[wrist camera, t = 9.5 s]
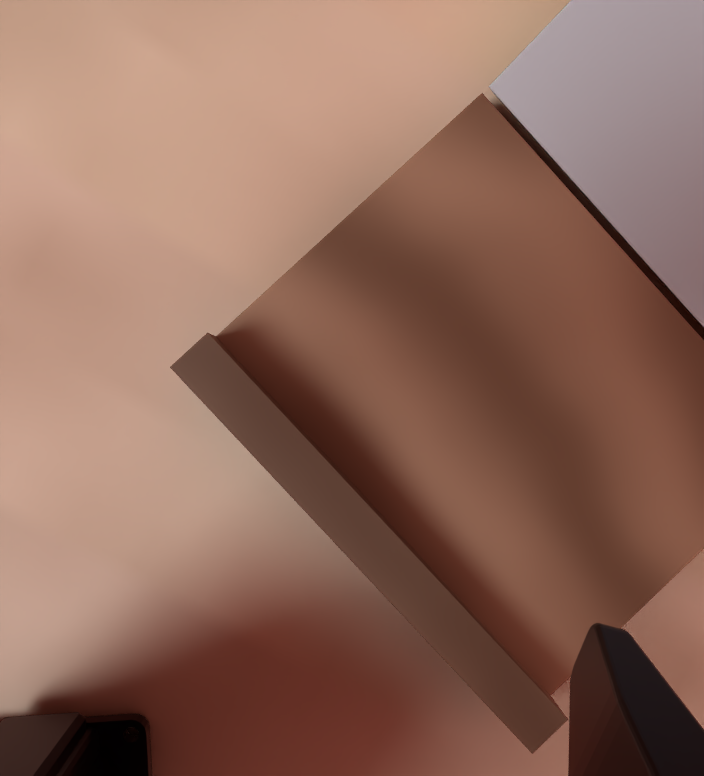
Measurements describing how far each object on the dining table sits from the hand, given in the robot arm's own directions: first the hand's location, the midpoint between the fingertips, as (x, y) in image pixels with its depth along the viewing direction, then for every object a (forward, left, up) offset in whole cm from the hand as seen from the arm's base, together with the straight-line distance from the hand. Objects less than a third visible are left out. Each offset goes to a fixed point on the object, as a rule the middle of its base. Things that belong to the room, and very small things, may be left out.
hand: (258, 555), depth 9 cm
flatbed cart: (+1, -6, -13) cm, 15 cm away
